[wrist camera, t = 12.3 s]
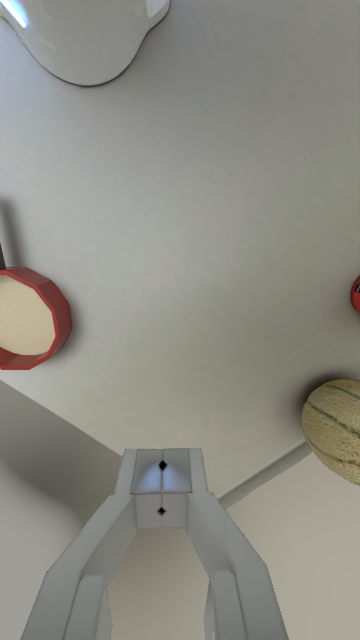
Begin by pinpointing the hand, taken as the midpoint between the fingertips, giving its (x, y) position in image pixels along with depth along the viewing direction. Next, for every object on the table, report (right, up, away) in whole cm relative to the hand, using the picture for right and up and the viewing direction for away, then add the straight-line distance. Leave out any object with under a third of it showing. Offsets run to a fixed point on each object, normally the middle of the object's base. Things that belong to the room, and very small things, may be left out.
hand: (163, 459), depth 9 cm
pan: (-23, +11, +22) cm, 34 cm away
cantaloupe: (+27, -9, +31) cm, 42 cm away
